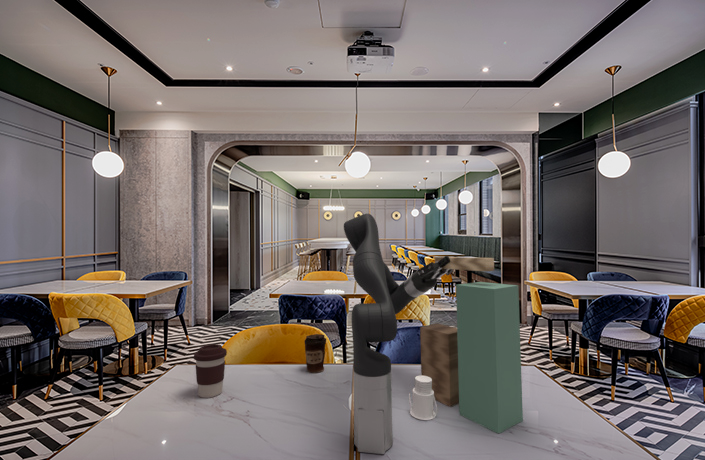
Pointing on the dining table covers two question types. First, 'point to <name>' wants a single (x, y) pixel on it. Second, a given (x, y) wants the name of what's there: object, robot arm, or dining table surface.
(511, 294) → the green stand
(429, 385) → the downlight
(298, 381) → the dining table surface
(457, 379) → the walnut block
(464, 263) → the beech bar
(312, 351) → the coffee cup
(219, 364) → the coffee cup
